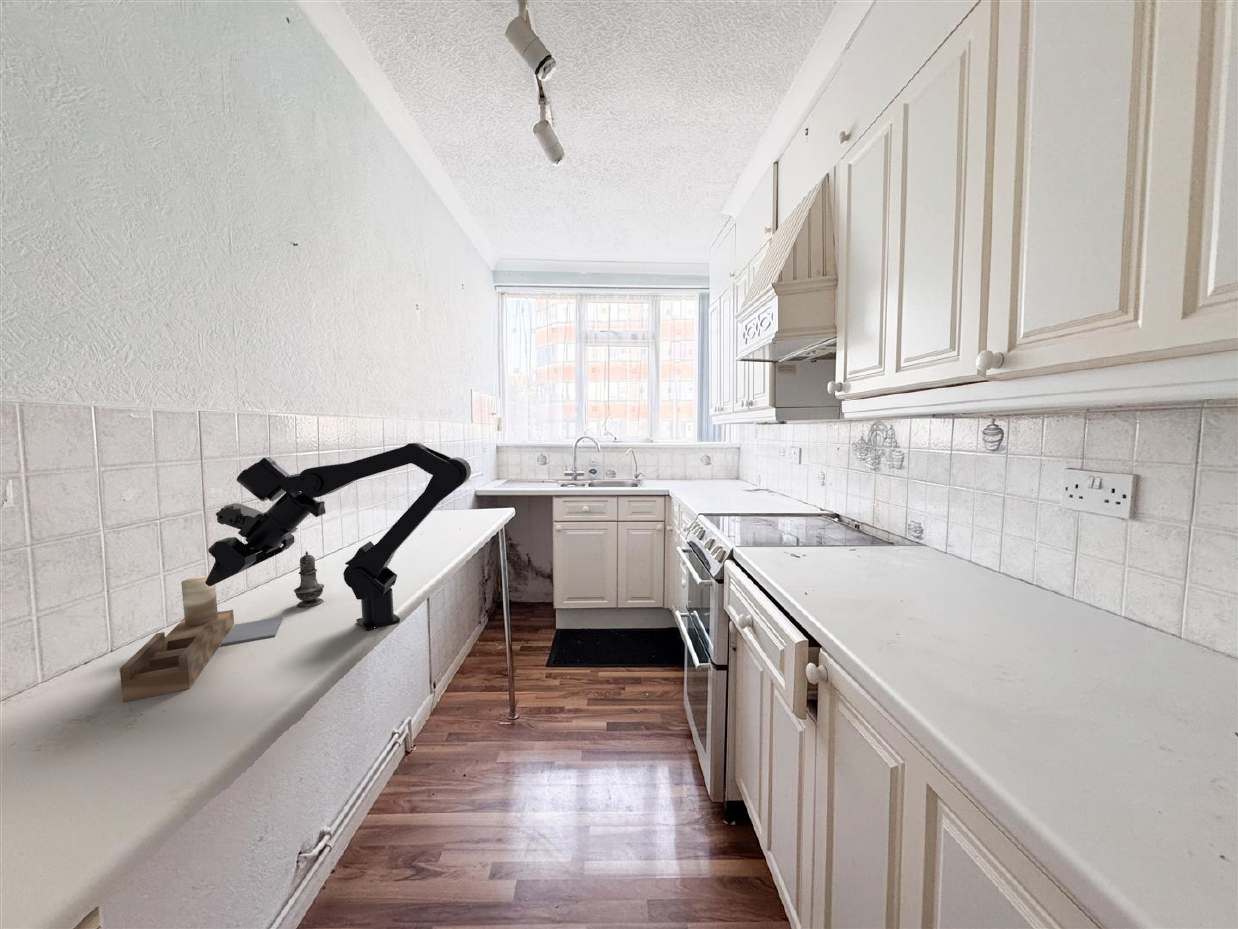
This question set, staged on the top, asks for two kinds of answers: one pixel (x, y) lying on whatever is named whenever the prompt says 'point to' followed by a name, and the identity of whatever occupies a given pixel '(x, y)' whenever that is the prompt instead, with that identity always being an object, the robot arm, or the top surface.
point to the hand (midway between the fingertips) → (223, 577)
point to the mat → (253, 631)
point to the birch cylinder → (199, 601)
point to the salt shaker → (308, 583)
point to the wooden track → (173, 658)
